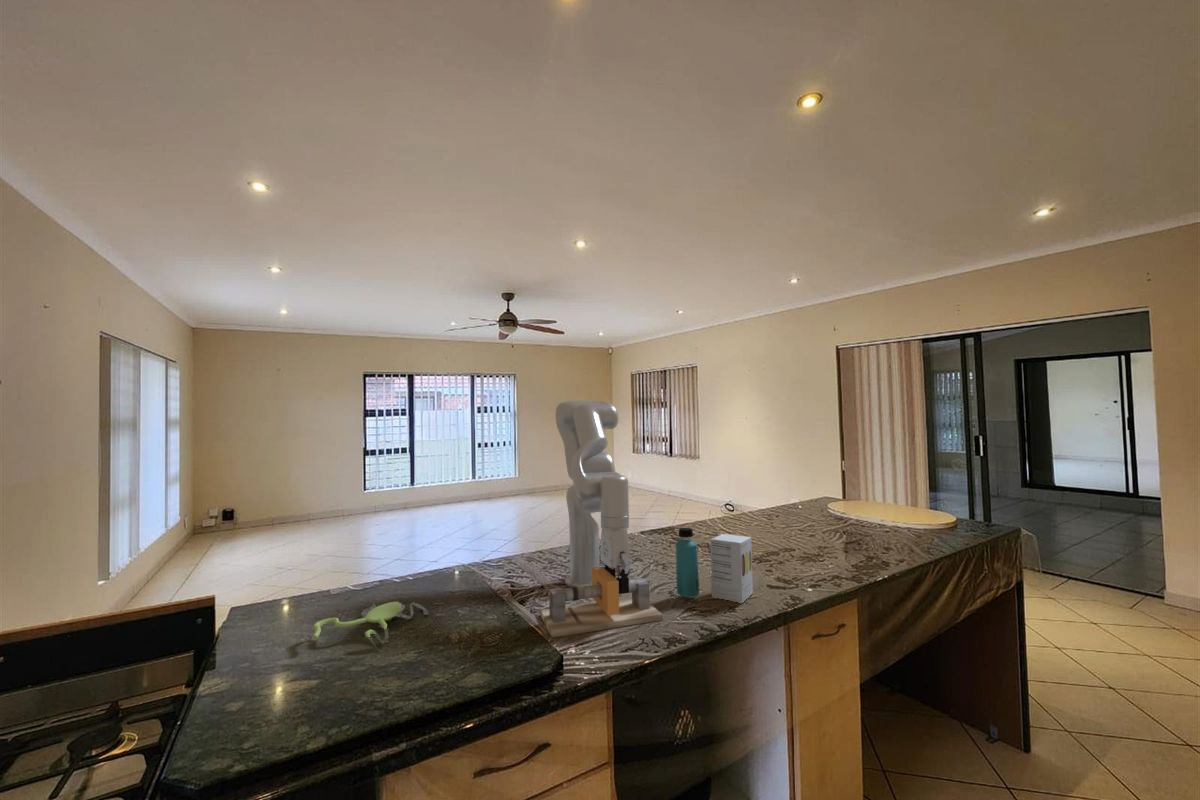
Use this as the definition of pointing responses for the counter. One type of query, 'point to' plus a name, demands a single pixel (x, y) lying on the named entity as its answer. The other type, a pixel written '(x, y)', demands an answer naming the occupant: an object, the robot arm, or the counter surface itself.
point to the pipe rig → (596, 610)
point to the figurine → (374, 616)
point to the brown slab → (606, 590)
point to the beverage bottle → (687, 565)
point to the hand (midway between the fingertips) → (616, 587)
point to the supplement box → (731, 567)
